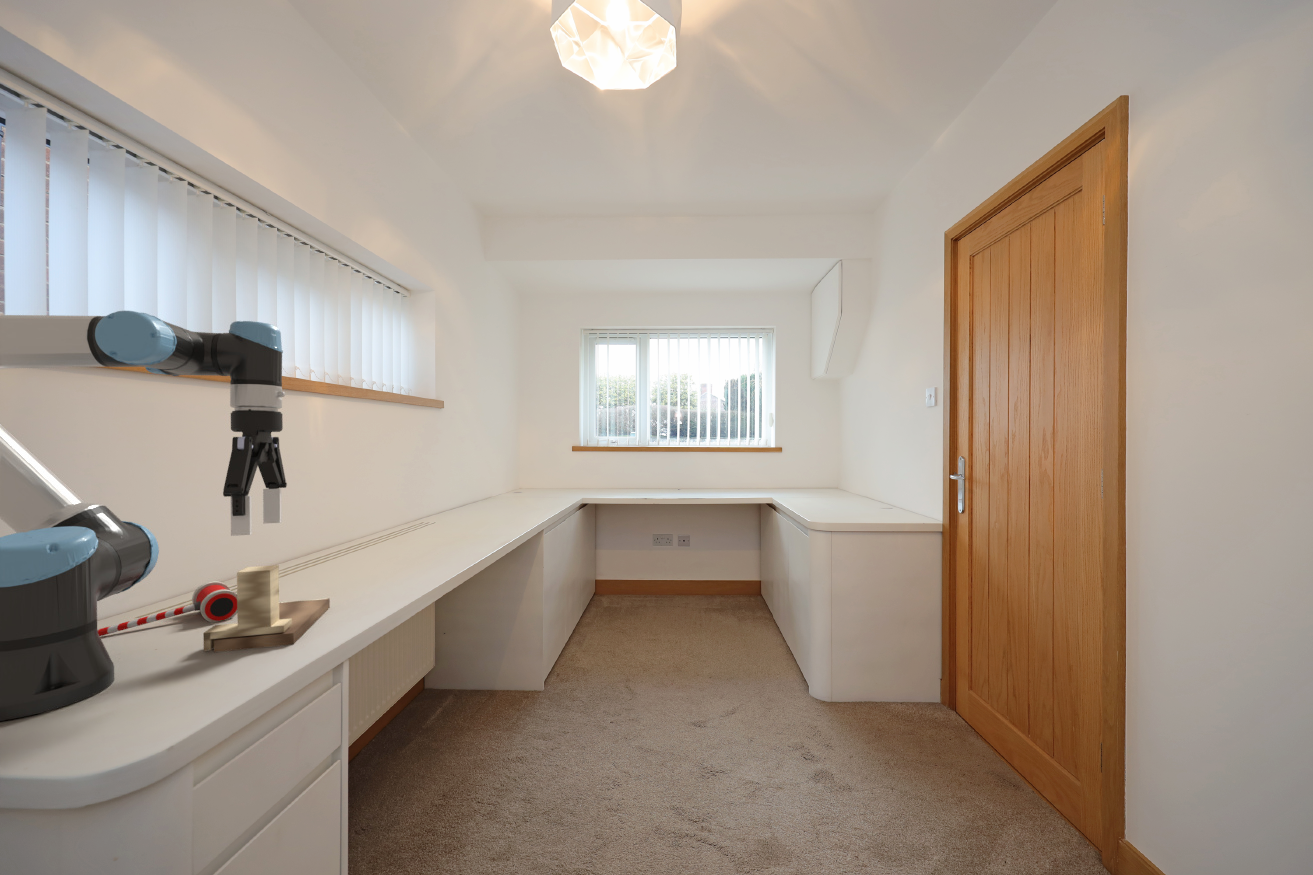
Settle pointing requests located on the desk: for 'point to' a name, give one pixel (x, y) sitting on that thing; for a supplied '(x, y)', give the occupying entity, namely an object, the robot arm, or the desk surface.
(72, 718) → the desk surface
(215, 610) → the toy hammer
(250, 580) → the bracket
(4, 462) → the robot arm
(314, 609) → the board
